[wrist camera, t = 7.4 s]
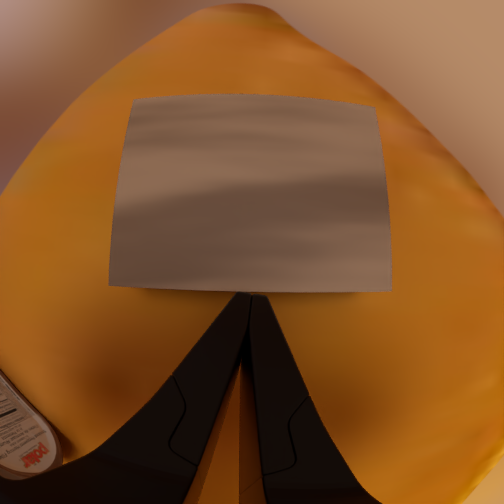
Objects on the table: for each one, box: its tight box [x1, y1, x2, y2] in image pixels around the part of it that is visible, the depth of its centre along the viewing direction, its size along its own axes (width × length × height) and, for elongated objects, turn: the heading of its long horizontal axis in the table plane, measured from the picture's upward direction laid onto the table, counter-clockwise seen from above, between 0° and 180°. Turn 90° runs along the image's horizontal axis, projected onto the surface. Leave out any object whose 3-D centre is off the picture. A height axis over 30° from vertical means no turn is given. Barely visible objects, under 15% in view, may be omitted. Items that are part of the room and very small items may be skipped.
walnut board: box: [109, 94, 392, 292], centre depth 14 cm, size 4×12×9 cm
